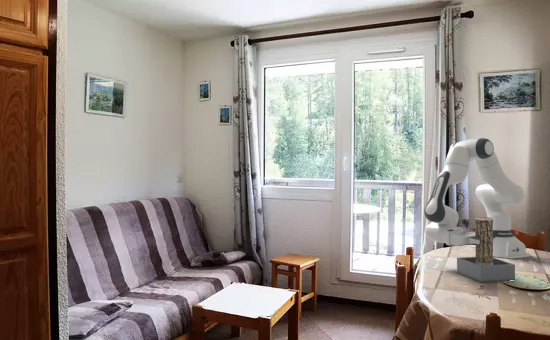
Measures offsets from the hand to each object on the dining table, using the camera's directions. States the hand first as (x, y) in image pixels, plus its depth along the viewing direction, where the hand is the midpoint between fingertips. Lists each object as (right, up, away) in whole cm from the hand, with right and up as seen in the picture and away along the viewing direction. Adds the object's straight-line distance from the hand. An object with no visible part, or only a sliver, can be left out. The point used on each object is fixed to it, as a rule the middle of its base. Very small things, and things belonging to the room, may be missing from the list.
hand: (486, 240), depth 168 cm
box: (0, -16, +1) cm, 16 cm away
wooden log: (0, -15, +1) cm, 15 cm away
